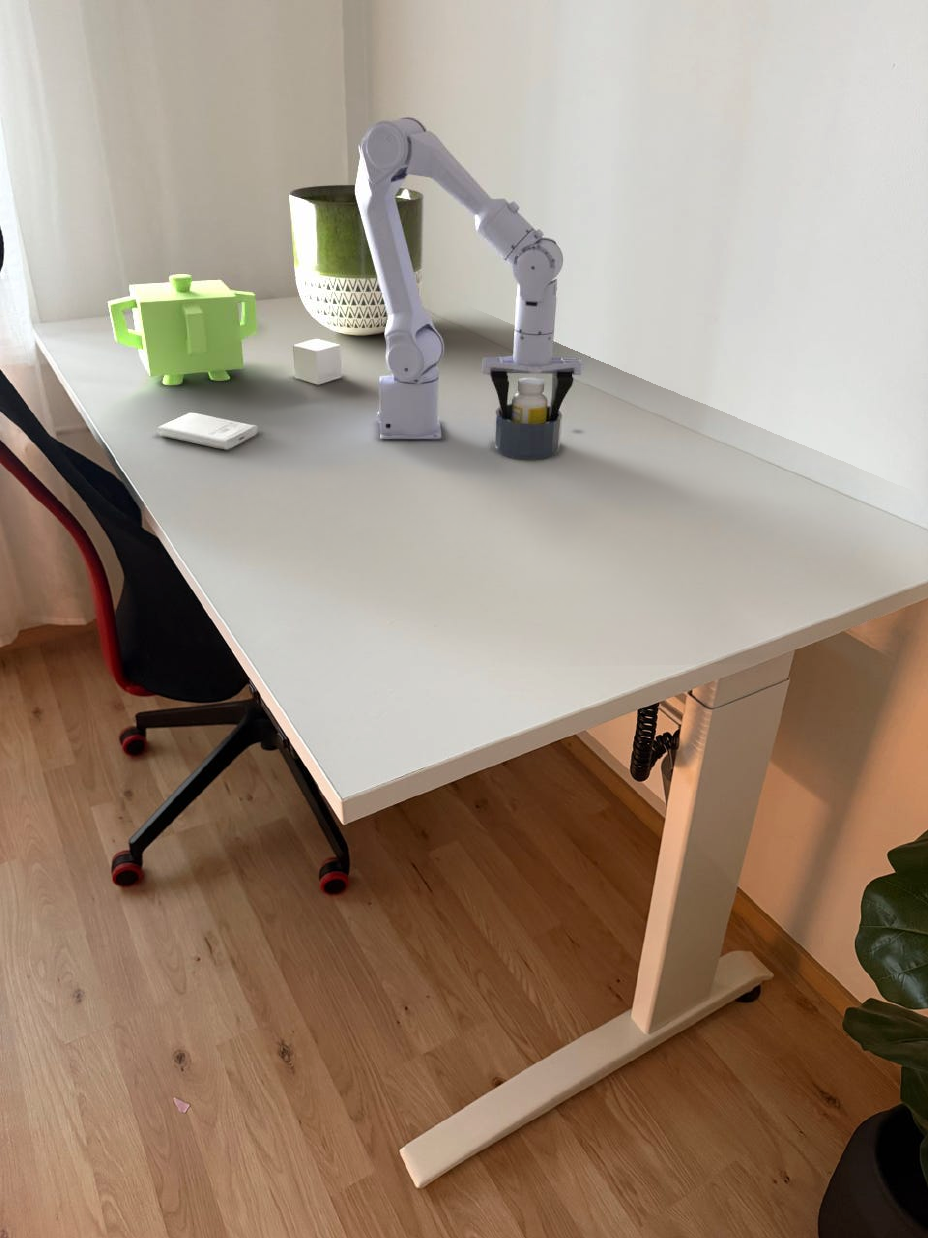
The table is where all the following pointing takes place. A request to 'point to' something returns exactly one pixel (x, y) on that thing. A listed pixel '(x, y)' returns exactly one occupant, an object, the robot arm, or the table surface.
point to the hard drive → (208, 430)
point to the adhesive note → (317, 361)
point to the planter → (346, 256)
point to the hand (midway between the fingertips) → (528, 420)
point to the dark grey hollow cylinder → (527, 437)
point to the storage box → (186, 327)
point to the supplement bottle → (529, 402)
